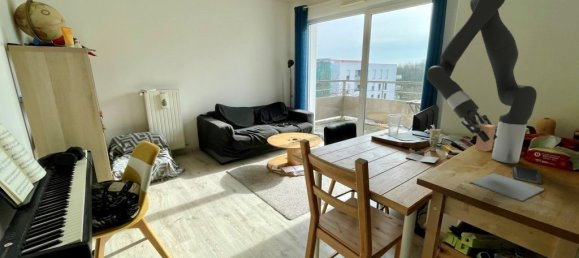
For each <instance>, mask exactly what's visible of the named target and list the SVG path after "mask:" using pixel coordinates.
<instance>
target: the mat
mask: <svg viewBox="0 0 579 258" xmlns="http://www.w3.org/2000/svg"><path fill="white" fill-rule="evenodd" d="M469 183H470V184H472V185H476V186H479V187H480V188H484V189H487V190H489V191H492V192H495V193H498V194H501V195H503V196H505V197H508V198H510V199H514V200H517V201H519V202H524V201H526V200H528V199H530V198H533V197H534V196H536V195H538V194H540V193H541V192H543V191H545V190H546V189H545V188H543V187H539V186H536V185H533V184H530V183H528V182H527V183H526V182H525V181H521V180H516V179H514V178H510V177H507V176H504V175H500V174H497V173H495V172H492V173H490V174H487V175H484V176H482V177H479V178H477V179H473V180H470V181H469Z"/></svg>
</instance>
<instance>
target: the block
mask: <svg viewBox="0 0 579 258" xmlns="http://www.w3.org/2000/svg"><path fill="white" fill-rule="evenodd" d="M480 127H481V128H482V129H483V131H484V132H485V133H486V134H487V136H488V137H489V138H490V140H488V141H487V142H483V140H482V139H481V138H480V137H479V135H478V134H476V140H475V141H476V143H475V150H477V151H481V152H488V151H491V150H492V151H493V146H494V140H495V139H494V134H495V135H496V130H497V129H496V128H497V126H496V125H494V124H492V125H489V124H483V125H482V124H481V126H480ZM493 139H494V140H493Z"/></svg>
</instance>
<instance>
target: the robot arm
mask: <svg viewBox="0 0 579 258" xmlns="http://www.w3.org/2000/svg"><path fill="white" fill-rule="evenodd" d="M469 1H470V3H469V6H470V7H469V8H470V10H471V12H472V13H471V15H470V16H469V17H468V20H466V22H465V23H464V25H463V26H462V27H461V28H460V29H458V31H457V32H456V33H455V34H454V35H453V37H452V38H451V40H449V42H448V43H447V45H446V47H445V48H444V50H443V51H442V53H441V55H440V58H439V59H440V62H439V64H438V65H433V66H430V67H429V68H427V70H426V78H427V80H428V82H430V84H431V85H432V86H433V87H434V88H435V89H436V90H437V91H438V92H439V93H440V94H441V95H442V97H443V98H444V100H445V101H446V102H447V104H448V106H449V107H450V108H451V110H453V112H454V113H455V114H456V116H457V117H458V118H459V119H460V120H461V119H463V120H462V121H460V122H461V124H462V125H463V126H464V127H465V128H466V129H467V130H469V132H470V133H471V134H476V135H479V137H480V138H481V139H482V140H483V142H487V141H488V140H490V138H489V137H488V136H487V134H486V133H485V132H484V131H483V129H482V128H481V127H480V126H481V125H483V124H489V125H493V124H492V122H491V121H490V119H489V117H488V116H487V114H483V115H481V114H480V113H479V112H478V110H479V109H480V107H479V106H478V104H476V103H475V101H474V100H473V99H472V97H470V95H469V94H468V93H467V92H466V91H465V90H463V88H462V87H461V86H460V85H459V84H458V83H457V82H456V81H455V80H454V79H452V78H451V76H452V75H453V72H454V70H455V68H456V66H457V62H458V61H459V60H460V58H461V57H462V56H463V54H464V53H465V51H466V50H467V48H468V47H469V45H471V43H472V41H474V38H475V37H476V36H477V34H478V33H479V32H480V33H481V38H482V41H483V43H484V48H485V51H486V54H487V58H488V60H489V62H490V67H491V69H492V72H493V77H494V79H495V84H496V91H497V96H498V100H499V101H500V103H501V104H502V105H504V106H509V107H510V109H509V111H508V112H507V113H504V114H501V115H499V118H498V124H497V127H496V128H497V129H496V132H495V134H494V139H493V141H494V142H493V147H492V154H491V159H492V160H494V161H497V162H501V163H505V164H518V163H519V161H520V156H521V152H522V148H523V143H524V139H525V134H526V129H527V126H528V125H527V124H528V121H529V120H530V118H531V117H532V115H533V112H534V109H535V105H536V101H537V93H538V92H537V90H536V88H535V87H533V86H531V85H526V84H518V83H517V80H516V77H515V71H514V70H515V66H516V64H517V61H518V58H519V51H518V50H519V49H518V45H517V43H516V39H515V38H514V35H513V34H512V32H511V31H510V30H509V29H508V27H507V26H506V25H505V23H504V22H503V21H502V18H501V16H500V13H499V9H500V8H501V7H502V5H503V4H504V3H505V1H506V0H469Z"/></svg>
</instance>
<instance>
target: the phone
mask: <svg viewBox="0 0 579 258" xmlns="http://www.w3.org/2000/svg"><path fill="white" fill-rule="evenodd" d="M512 179H514V180H517V181H520V182H525V183H526V182H527V183H529V184H530V183H531V184H536V185H542V183H543V180H542V176H541V174H540V170H538V169H536V168H530V167H524V166H518V165H512Z"/></svg>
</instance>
